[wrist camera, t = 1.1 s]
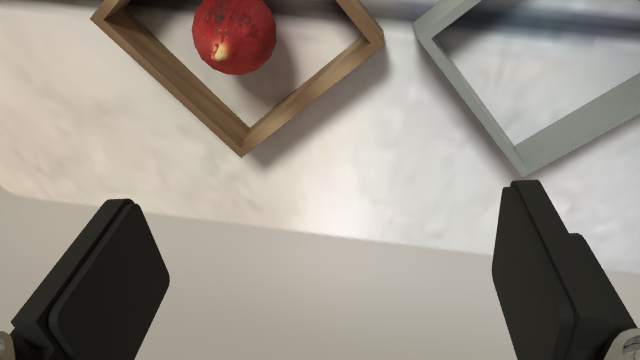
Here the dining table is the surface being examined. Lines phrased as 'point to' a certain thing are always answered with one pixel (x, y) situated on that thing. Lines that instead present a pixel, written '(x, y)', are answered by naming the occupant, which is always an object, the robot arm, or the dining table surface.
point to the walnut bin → (205, 102)
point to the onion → (234, 34)
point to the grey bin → (555, 138)
